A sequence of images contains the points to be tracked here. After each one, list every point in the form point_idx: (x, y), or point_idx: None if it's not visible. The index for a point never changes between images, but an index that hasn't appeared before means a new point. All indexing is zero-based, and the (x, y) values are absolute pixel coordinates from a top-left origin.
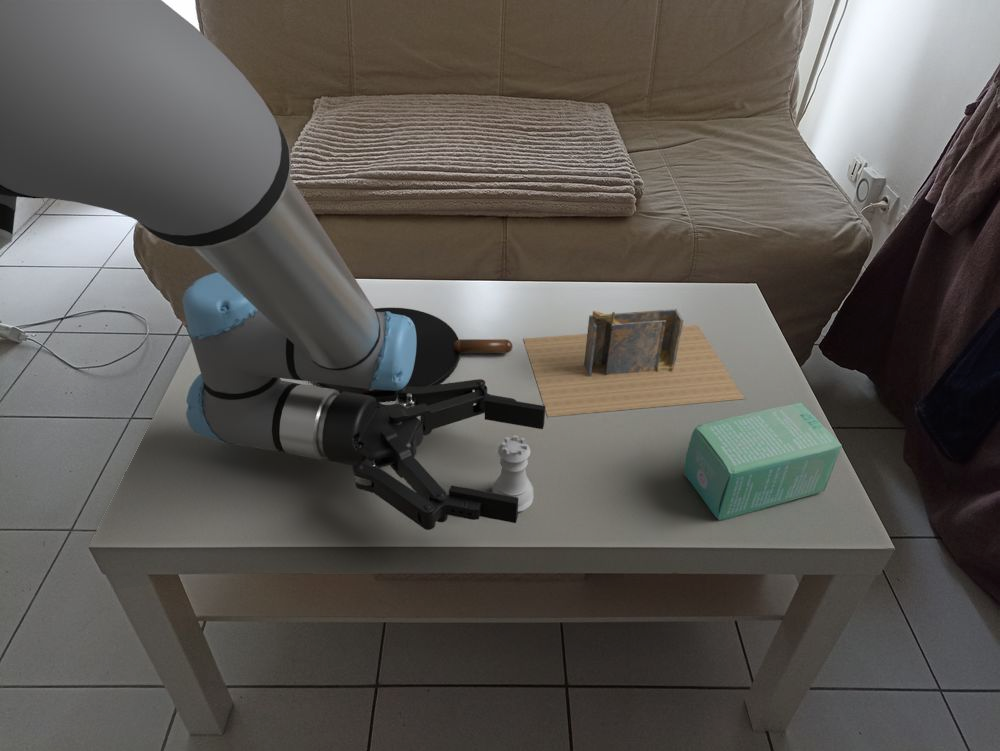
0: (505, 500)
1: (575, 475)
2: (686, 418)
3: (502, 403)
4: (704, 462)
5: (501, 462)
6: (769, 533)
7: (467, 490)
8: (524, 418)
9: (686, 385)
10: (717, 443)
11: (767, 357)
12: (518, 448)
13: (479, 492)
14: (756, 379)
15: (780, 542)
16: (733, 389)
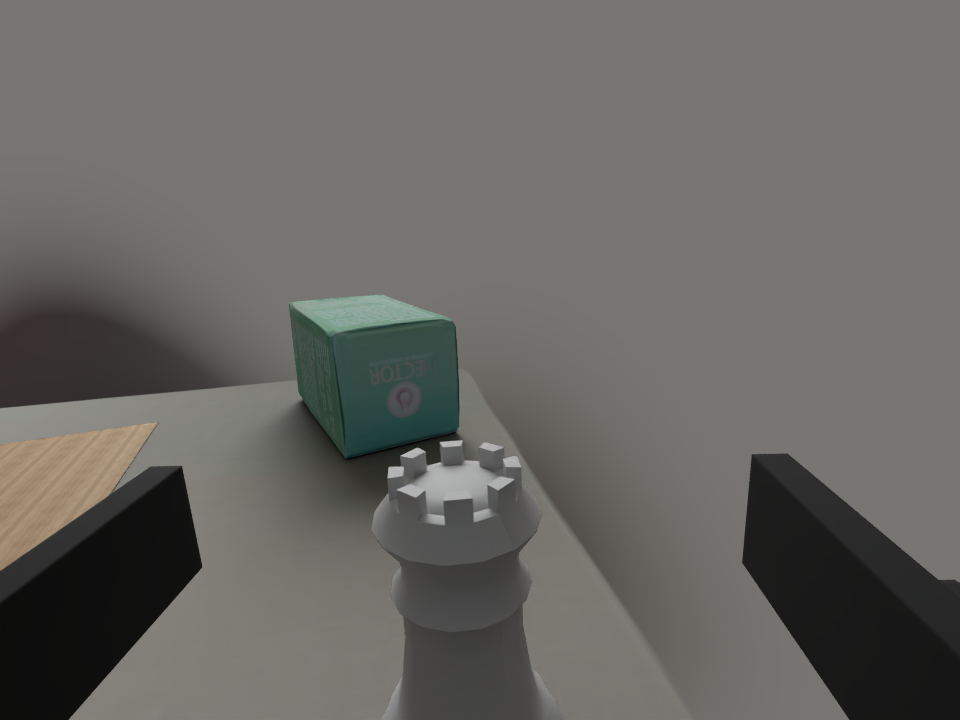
0: (809, 476)
1: (333, 609)
2: (175, 465)
3: (2, 601)
4: (396, 364)
5: (487, 613)
6: (469, 405)
7: (938, 610)
8: (137, 582)
9: (63, 468)
10: (382, 322)
11: (60, 410)
12: (467, 472)
13: (873, 559)
14: (112, 416)
15: (483, 399)
16: (123, 429)
